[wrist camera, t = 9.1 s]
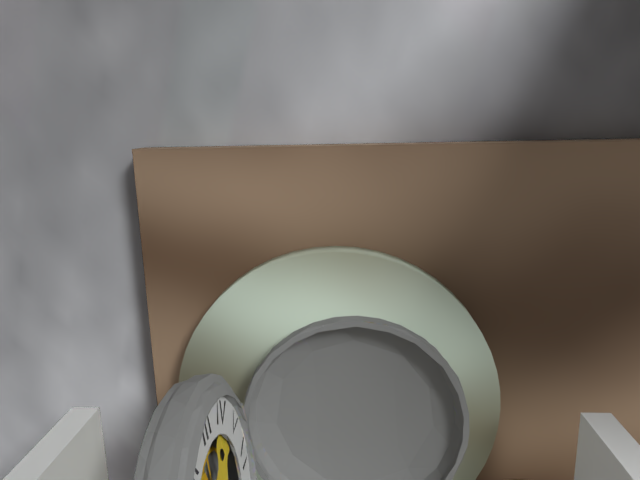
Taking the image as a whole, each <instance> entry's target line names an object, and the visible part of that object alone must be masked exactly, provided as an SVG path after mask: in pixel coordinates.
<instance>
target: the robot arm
mask: <svg viewBox="0 0 640 480" xmlns="http://www.w3.org/2000/svg"><path fill="white" fill-rule="evenodd" d="M3 480H109V478H108V470H107V462H106V455H105V447H104V439H103V431H102V423H101V415H100V407H72V408H71V409H70V410H69V411H68V412H67V413H66V414H65V415H64V416H63V417H62V418H61V419H60V420H59V422H58V423H57V424H56V425H55V426H54V427H53V428H52V429H51V430H50V431H49V432H48V433H47V434H46V435H45V436H44V437H43V438H42V439H41V440H40V441H39V442H38V443H37V444H36V445H35V447H34V448H33V449H32V450H31V451H30V452H29V453H28V454H27V455H26V456H25V457H24V458H23V459H22V460H21V461H20V462H19V463H18V464H17V465H16V466H15V467H14V468H13V469H12V470H11V471H10V473H9V474H8V475H7V476H6V477H5V478H4V479H3ZM574 480H640V445H639V444H638V443H637V442H636V440H635V439H634V438H633V437H632V436H631V435H630V434H629V433H628V431H627V430H626V429H625V428H624V427H623V426H622V425H621V424H620V422H619V421H618V420H617V419H616V418H615V417H614V416H613V415H612V413H581V414H580V424H579V434H578V444H577V454H576V464H575V474H574Z"/></svg>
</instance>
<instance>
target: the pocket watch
mask: <svg viewBox="0 0 640 480" xmlns="http://www.w3.org/2000/svg"><path fill="white" fill-rule="evenodd" d="M469 432H470V430H469V411H468V407H467V403H466V399H465V394H464V391H463V389H462V386H461V383H460V380H459V377H458V376H457V374H456V373H455V372H454V371H453V369H452V368H451V367H450V365H449V363H448V362H447V361H446V360H445V359H444V358H443V356H442V355H441V354H440V353H439V351H438V350H437V349H436V348H435V347H434V346H433V345H431V344H430V343H429V342H428V341H427V340H426V339H424V338H423V337H421V336H419V335H417V334H416V333H414V332H412V331H410V330H409V329H407V328H405V327H403V326H402V325H399V324H396V323H392V322H389V321H386V320H383V319H380V318H373V317H365V316H342V317H333V318H329V319H325V320H321V321H317V322H313V323H311V324H309V325H307V326H304V327H302V328H300V329H298V330H296V331H294V332H292V333H291V334H290V335H288V336H287V337H286V338H284V339H282V341H281V342H279V343H278V344H277V345H275V346H274V347H273V348H272V349H271V350H270V352H269V353H268V354H267V356H266V357H265V358H264V360H263V361H262V362H261V364H260V365H259V366H258V367H257V369H256V370H255V372H254V374H253V377H252V379H251V382H250V384H249V387H248V389H247V392H246V396H245V401H244V406H243V404H242V403H240V400H239V398H238V397H237V396H236V394H235V393H234V392H233V390H232V388H231V386H230V385H229V384H228V383H227V382H226V380H225V379H224V378H223V377H222V376H221V375H217V374H212V373H211V374H202V375H194V376H193V377H191V378H190V379H188V380H186V381H183V382H179V383H176V384H174V385H173V386H172V387H171V388H170V389H169V390H168V392H167V393H166V395H165V396H164V398H163V399H162V400H161V402H160V403H159V405H158V406H157V407H156V409H155V411H154V413H153V415H152V418H151V420H150V423H149V425H148V427H147V430H146V432H145V436H144V439H143V442H142V445H141V449H140V452H139V456H138V461H137V466H136V471H135V475H134V480H257V474H256V470H257V472H258V474H259V475H260V477H261V478H262V479H263V480H452V479H453V477H454V475H455V473H456V471H457V470H458V468H459V466H460V464H461V462H462V460H463V457H464V454H465V452H466V449H467V446H468V439H469Z"/></svg>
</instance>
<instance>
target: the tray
mask: <svg viewBox="0 0 640 480" xmlns="http://www.w3.org/2000/svg"><path fill="white" fill-rule="evenodd" d="M132 154H133V164H134V174H135V184H136V194H137V204H138V215H139V225H140V235H141V245H142V255H143V265H144V275H145V285H146V295H147V305H148V315H149V325H150V335H151V345H152V355H153V365H154V375H155V385H156V395H157V405H159V403H160V402H161V400H162V399H163V398H164V396H165V395H166V393H167V392H168V390H169V389H170V388H171V387H172V386H173V385H174V384H176V383H179V382H183V381H186V380H188V379H190V378H191V377H193V376H194V375H202V374H211V373H212V374H217V375H221V376H222V377H223V378H224V379H225V380H226V382H227V383H228V384H229V385H230V386H231V388H232V390H233V392H234V393H235V394H236V396H237V397H238V398H239V400H240V403H242V404H243V406H244V401H245V396H246V392H247V389H248V387H249V384H250V382H251V379H252V377H253V374H254V372H255V370H256V369H257V367H258V366H259V365H260V364H261V362H262V361H263V360H264V358H265V357H266V356H267V354H268V353H269V352H270V350H271V349H272V348H273V347H274V346H275V345H277V344H278V343H279V342H281V341H282V339H284V338H286V337H287V336H288V335H290V334H291V333H292V332H294V331H296V330H298V329H300V328H302V327H304V326H307V325H309V324H311V323H313V322H317V321H321V320H325V319H329V318H333V317H342V316H365V317H373V318H380V319H383V320H386V321H389V322H392V323H396V324H399V325H402V326H403V327H405V328H407V329H409V330H410V331H412V332H414V333H416V334H417V335H419V336H421V337H423V338H424V339H426V340H427V341H428V342H429V343H430V344H431V345H433V346H434V347H435V348H436V349H437V350H438V351H439V353H440V354H441V355H442V356H443V358H444V359H445V360H446V361H447V362H448V363H449V365H450V367H451V368H452V369H453V371H454V372H455V373H456V374H457V376H458V377H459V380H460V383H461V386H462V389H463V391H464V394H465V399H466V403H467V407H468V411H469V430H470V432H469V439H468V446H467V449H466V452H465V454H464V457H463V460H462V462H461V464H460V466H459V468H458V470H457V471H456V473H455V475H454V477H453V479H452V480H574V474H575V464H576V454H577V444H578V434H579V424H580V414H581V413H612V415H613V416H614V417H615V418H616V419H617V420H618V421H619V422H620V424H621V425H622V426H623V427H624V428H625V429H626V430H627V431H628V433H629V434H630V435H631V436H632V437H633V438H634V439H635V440H636V442H637V443H638V444H639V445H640V138H636V139H582V140H528V141H474V142H420V143H366V144H312V145H259V146H205V147H151V148H138V149H132ZM256 474H257V480H263V479H262V478H261V477H260V475H259V474H258V472H257V470H256Z"/></svg>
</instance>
